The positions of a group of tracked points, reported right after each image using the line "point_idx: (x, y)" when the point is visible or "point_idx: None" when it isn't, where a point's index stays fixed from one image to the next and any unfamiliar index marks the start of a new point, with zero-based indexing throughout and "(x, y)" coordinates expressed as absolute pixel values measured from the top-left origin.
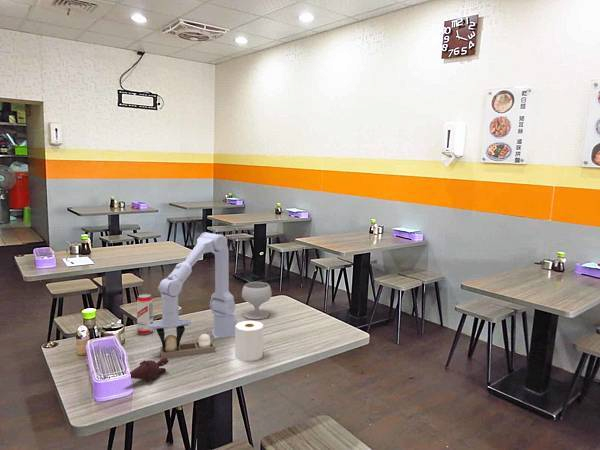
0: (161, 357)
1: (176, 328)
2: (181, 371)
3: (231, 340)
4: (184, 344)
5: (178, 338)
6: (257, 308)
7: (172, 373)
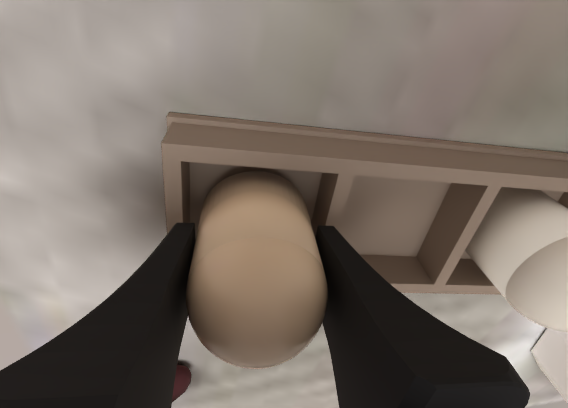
0: None
1: (388, 367)
2: (265, 369)
3: None
4: (400, 176)
5: (334, 352)
6: None
7: (221, 374)
